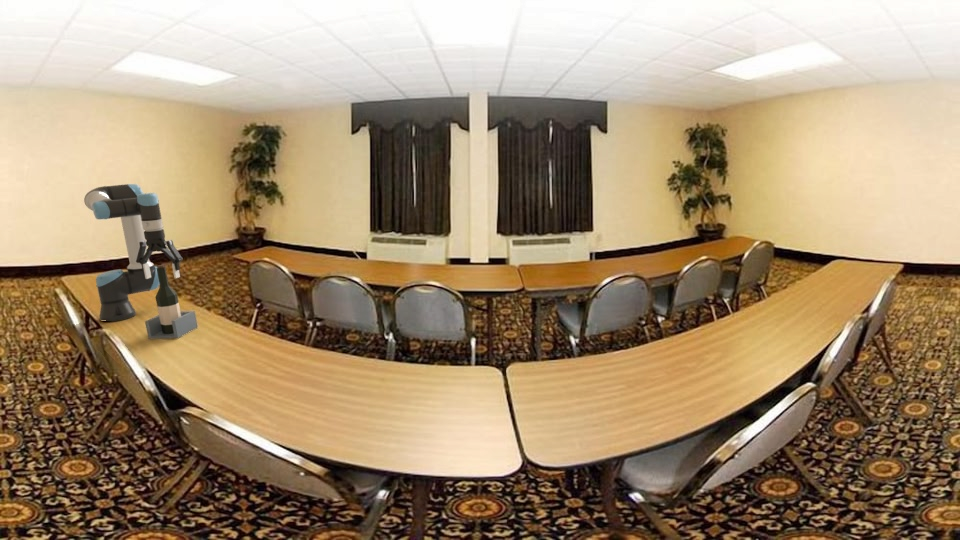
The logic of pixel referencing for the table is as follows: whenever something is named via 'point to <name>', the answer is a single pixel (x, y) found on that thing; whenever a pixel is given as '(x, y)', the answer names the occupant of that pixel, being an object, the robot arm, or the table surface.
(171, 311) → the wine bottle
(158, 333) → the bottle stand
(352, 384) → the table surface
